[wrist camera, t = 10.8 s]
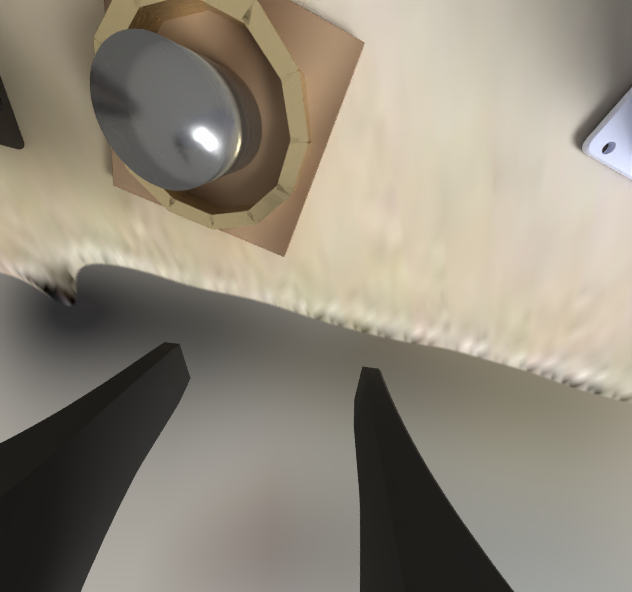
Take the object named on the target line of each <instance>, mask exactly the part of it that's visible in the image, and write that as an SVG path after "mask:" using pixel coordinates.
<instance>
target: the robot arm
mask: <svg viewBox="0 0 632 592" xmlns="http://www.w3.org/2000/svg"><path fill="white" fill-rule="evenodd" d="M607 143H609V145H608V148H607V149H606V150H605V151H604V152H603V153H602V148H603V147H604V145H606V144H607ZM582 150H583V152H584V153H585V154H586V155H588V156H590V157H591V158H593V159H595V160H597V161H598V162H600V163H602V164H604V165H606V166H607V167H609V168H611V169H613V170H614V171H616V172H618V173H620V174H621V175H623V176H625V177H627V178H628V179H630V180H632V87H631V89H630V90H629V91H628V92H627V93H626V94H625V95H624V97H623V98H622V99H621V100H620V101H619V102H618V103H617V104H616V106H615V107H614V108H613V109H612V110H611V111H610V112H609V114H608V115H607V116H606V117H605V118H604V119H603V120H602V122H601V123H600V124H599V125H598V126H597V127H596V128H595V129H594V131H593V132H592V133H591V134H590V135H589V136H588V137H587V139H586V140H585V142H584V143H583V146H582ZM189 380H190V376H189V372H188V370H187V366H186V363H185V360H184V357H183V354H182V351H181V347H180V344H175V343H166V342H164V343H163V344H161V345H160V346H158V347H157V348H155V349H154V350H152V351H151V352H149V353H148V354H146V355H145V356H143V357H142V358H141V359H139V360H138V361H136V362H134V363H133V364H132V365H130V366H129V367H127V368H126V369H124V370H123V371H121V372H120V373H118V374H117V375H115V376H114V377H112V378H111V379H109V380H108V381H106V382H105V383H103V384H102V385H100V386H99V387H97V388H96V389H94V390H92V391H91V392H89V393H88V394H86V395H84V396H83V397H81V398H80V399H78V400H76V401H75V402H73V403H72V404H70V405H69V406H67V407H65V408H63V409H62V410H60V411H58V412H57V413H55V414H53V415H51V416H50V417H48V418H46V419H45V420H43V421H41V422H39V423H37V424H35V425H34V426H32V427H30V428H29V429H26V430H25V431H23V432H21V433H19V434H17V435H15V436H14V437H12V438H10V439H8V440H6V441H4V442H2V443H0V592H81V590H82V587H83V585H84V582H85V580H86V578H87V575H88V573H89V571H90V569H91V566H92V564H93V562H94V560H95V558H96V555H97V553H98V551H99V549H100V546H101V544H102V542H103V539H104V537H105V535H106V533H107V531H108V529H109V527H110V525H111V523H112V521H113V519H114V516H115V514H116V512H117V510H118V508H119V506H120V504H121V502H122V500H123V498H124V496H125V494H126V492H127V490H128V488H129V486H130V484H131V482H132V480H133V478H134V477H135V474H136V473H137V471H138V469H139V468H140V466H141V464H142V462H143V461H144V459H145V457H146V456H147V454H148V452H149V451H150V449H151V448H152V446H153V444H154V443H155V441H156V440H157V438H158V436H159V435H160V433H161V432H162V430H163V428H164V427H165V425H166V423H167V422H168V420H169V419H170V417H171V415H172V414H173V412H174V410H175V409H176V407H177V405H178V404H179V402H180V400H181V398H182V395H183V393H184V391H185V389H186V387H187V385H188V382H189ZM354 434H355V447H356V459H357V471H358V483H359V495H360V496H359V497H360V592H514V591H513V590H512V589H511V587H510V586H509V584H508V583H507V582H506V581H505V579H504V578H503V577H502V575H501V574H500V573H499V571H498V570H497V569H496V567H495V566H494V565H493V563H492V562H491V560H490V559H489V558H488V556H487V555H486V554H485V552H484V551H483V549H482V548H481V547H480V545H479V544H478V542H477V541H476V540H475V538H474V537H473V535H472V534H471V533H470V531H469V530H468V528H467V527H466V526H465V524H464V523H463V521H462V520H461V519H460V517H459V516H458V514H457V513H456V511H455V510H454V508H453V507H452V505H451V504H450V502H449V501H448V499H447V498H446V496H445V494H444V493H443V491H442V490H441V488H440V487H439V485H438V483H437V482H436V480H435V479H434V477H433V475H432V474H431V472H430V470H429V469H428V467H427V465H426V464H425V462H424V460H423V458H422V457H421V455H420V453H419V452H418V450H417V448H416V446H415V445H414V442H413V441H412V439H411V437H410V435H409V433H408V431H407V429H406V427H405V425H404V423H403V421H402V419H401V417H400V415H399V413H398V411H397V409H396V407H395V405H394V402H393V400H392V398H391V396H390V393H389V391H388V389H387V386H386V384H385V381H384V379H383V376H382V373H381V371H380V370H379V369H377V368H368V367H362V370H361V374H360V379H359V383H358V387H357V391H356V395H355V399H354Z"/></svg>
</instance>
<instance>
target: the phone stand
mask: <svg viewBox="0 0 632 592" xmlns="http://www.w3.org/2000/svg"><path fill="white" fill-rule="evenodd" d="M0 145H4V146H7V147H11V148H15V149H22V148H23V147H24V141H23V138H22V135H21V133H20V130H19V127H18V124H17V121H16V119H15V116H14V113H13V110H12V107H11V104H10V102H9V99H8V96H7V93H6V90H5V88H4V85H3V82H2V79H1V76H0Z"/></svg>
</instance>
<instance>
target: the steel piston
mask: <svg viewBox="0 0 632 592" xmlns="http://www.w3.org/2000/svg"><path fill="white" fill-rule="evenodd" d="M90 91H91V99H92V104H93V108H94V111H95V115H96V118H97V120H98V123H99V125H100V128H101V130H102V132H103V134H104V136H105V138H106V139H107V141H108V143H109V144H110V146H111V147H112V149H113V150H114V151H115V153H116V154H117V156H118V157H119V158H120V159H121V160H122V161H123V162H124V163H125V164H126V165H127V166H128V167H129V168H130V169H131V170H132V171H133V172H134V173H136V174H137V175H138V176H140V177H141V178H142V179H144V180H145V181H147V182H149V183H151V184H153V185H155V186H158V187H160V188H164V189H167V190H174V191H184V190H190V189H193V188H196V187H198V186H201V185H203V184H206V183H208V182H211V181H213V180H216V179H218V178H221V177H223V176H226V175H229V174H231V173H234V172H236V171H239V170H241V169H243V168H245V167H246V166H247V165H249V164H250V163H251V161H252V160H253V159H254V158H255V156H256V154H257V152H258V150H259V147H260V144H261V139H262V119H261V114H260V110H259V107H258V104H257V102H256V99H255V97H254V95H253V94H252V92H251V90H250V89H249V87H248V86H247V85H246V83H245V82H244V81H243V80H242V79H241V78H240V77H239V76H238V75H237V74H236V73H234V72H233V71H231V70H230V69H228V68H226V67H224V66H222V65H220V64H218V63H216V62H214V61H212V60H210V59H208V58H206V57H204V56H202V55H200V54H198V53H195V52H193V51H191V50H189V49H187V48H185V47H183V46H181V45H179V44H177V43H175V42H173V41H171V40H169V39H167V38H165V37H163V36H161V35H159V34H157V33H154V32H151V31H147V30H143V29H125V30H122V31H118V32H116V33H114V34H113V35H111V36H109V37H108V38H107V39H106V40H105V41H104V42H103V43H102V44H101V46H100V47H99V48H98V50H97V52H96V55H95V57H94V60H93V63H92V67H91V74H90Z"/></svg>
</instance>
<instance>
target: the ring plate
mask: <svg viewBox="0 0 632 592" xmlns="http://www.w3.org/2000/svg"><path fill="white" fill-rule="evenodd" d="M104 2H105V16H104V18H103V20H102V22H101V24H100V26H99V28H98V30H97V32H96V34H95V36H94V38H95V39H96V40H95V39H93V40H94V54H95V55H96V52H97V50H98V48H99V47H100V46H101V44H102V43H103V42H104V41H105V40H106V39H107V38H108V37H109V36H111V35H113V34H114V33H116V32H118V31H122V30H125V29H143V30H147V31H151V32H154V33H157V34H159V35H161V36H163V37H165V38H167V39H169V40H171V41H173V42H175V43H177V44H179V45H181V46H183V47H185V48H187V49H189V50H191V51H193V52H195V53H198V54H200V55H202V56H204V57H206V58H208V59H210V60H212V61H214V62H216V63H218V64H220V65H222V66H224V67H226V68H228V69H230V70H231V71H233V72H234V73H236V74H237V75H238V76H239V77H240V78H241V79H242V80H243V81H244V82H245V83H246V85H247V86H248V87H249V89H250V90H251V92H252V94H253V95H254V97H255V99H256V102H257V104H258V107H259V110H260V114H261V119H262V139H261V144H260V147H259V150H258V152H257V154H256V156H255V158H254V159H253V160H252V161H251V163H250V164H249V165H247V166H246V167H245V168H243V169H241V170H239V171H236V172H234V173H231V174H229V175H226V176H223V177H221V178H218V179H216V180H213V181H211V182H208V183H206V184H203V185H201V186H198V187H196V188H193V189H190V190H184V191H174V190H167V189H164V188H160V187H158V186H155V185H153V184H151V183H149V182H147V181H145V180H144V179H142V178H141V177H140V176H138V175H137V174H136V173H134V172H133V171H132V170H131V169H130V168H129V167H128V166H127V165H126V164H125V163H124V162H123V161H122V160H121V159H120V158H119V157H118V156H117V154H116V153H115V151H114V150H113V149H112V166H113V185H114V186H116V187H118V188H121V189H123V190H126V191H128V192H130V193H133V194H135V195H137V196H140V197H142V198H145V199H147V200H149V201H152V202H154V203H157V204H159V205H161V206H164V207H165V208H166V209H167V210H169V211H170V212H172V213H175V214H177V215H179V216H182V217H184V218H187V219H189V220H191V221H194V222H196V223H199V224H201V225H203V226H206V227H208V228H211V229H219V230H221V231H223V232H226V233H228V234H231V235H233V236H235V237H238V238H240V239H243V240H245V241H247V242H250V243H252V244H254V245H257V246H259V247H262V248H264V249H266V250H269V251H271V252H274V253H276V254H278V255H281V256H283V257H284V256H285V254H286V251H287V249H288V246H289V243H290V241H291V238H292V235H293V233H294V230H295V227H296V225H297V222H298V219H299V217H300V214H301V212H302V209H303V206H304V204H305V201H306V198H307V196H308V193H309V190H310V188H311V185H312V182H313V180H314V177H315V174H316V172H317V169H318V166H319V164H320V161H321V158H322V156H323V153H324V150H325V148H326V145H327V142H328V140H329V137H330V134H331V132H332V129H333V127H334V124H335V121H336V119H337V116H338V113H339V111H340V108H341V105H342V103H343V100H344V97H345V95H346V92H347V89H348V87H349V84H350V81H351V79H352V76H353V73H354V71H355V68H356V65H357V63H358V60H359V57H360V55H361V52H362V49H363V46H364V42H363V41H361V40H359V39H357V38H356V37H354V36H352V35H350V34H348V33H347V32H345V31H343V30H341V29H339V28H338V27H336V26H334V25H332V24H331V23H329V22H327V21H325V20H323V19H322V18H320V17H318V16H316V15H314V14H313V13H311V12H309V11H307V10H306V9H304V8H302V7H300V6H298V5H297V4H295V3H293V2H291V1H290V0H104Z"/></svg>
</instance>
